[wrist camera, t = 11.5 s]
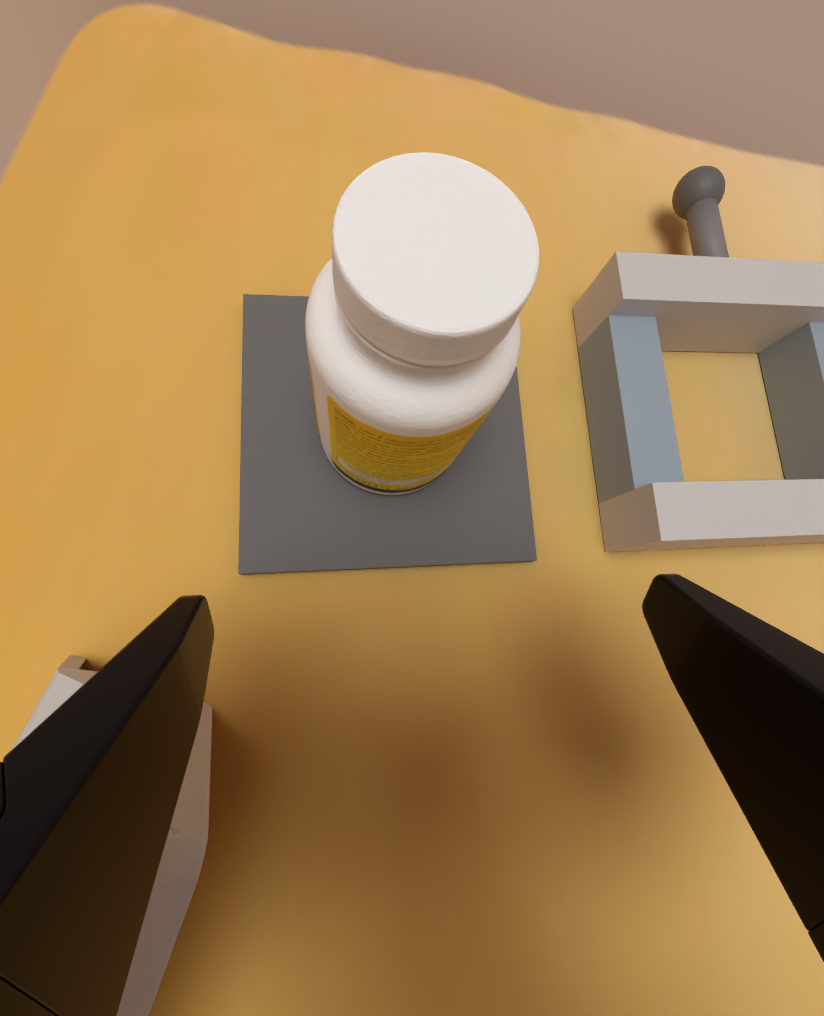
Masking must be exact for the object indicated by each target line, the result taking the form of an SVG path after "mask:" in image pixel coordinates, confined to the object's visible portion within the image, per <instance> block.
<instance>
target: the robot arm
mask: <svg viewBox="0 0 824 1016" xmlns="http://www.w3.org/2000/svg"><path fill="white" fill-rule="evenodd" d="M642 610H643V614H644V617H645V619H646V621H647V624H648V626H649V628H650V631H651V633H652V636H653V638H654V640H655V643H656V645H657V647H658V650H659V652H660V655H661V657H662V659H663V662H664V664H665V666H666V669H667V671H668V673H669V675H670V678H671V680H672V682H673V684H674V686H675V688H676V690H677V691H678V693H679V695H680V697H681V699H682V701H683V703H684V704H685V706H686V708H687V710H688V712H689V714H690V715H691V717H692V719H693V721H694V723H695V725H696V727H697V728H698V730H699V732H700V734H701V736H702V738H703V739H704V741H705V743H706V745H707V747H708V749H709V751H710V752H711V754H712V756H713V758H714V760H715V762H716V763H717V765H718V767H719V769H720V771H721V773H722V775H723V776H724V778H725V780H726V782H727V784H728V786H729V787H730V789H731V791H732V793H733V795H734V797H735V799H736V800H737V802H738V804H739V806H740V808H741V810H742V811H743V813H744V815H745V817H746V819H747V821H748V823H749V824H750V826H751V828H752V830H753V832H754V834H755V835H756V837H757V839H758V841H759V843H760V845H761V847H762V848H763V850H764V852H765V854H766V856H767V858H768V859H769V861H770V863H771V865H772V867H773V869H774V871H775V872H776V874H777V876H778V878H779V880H780V882H781V883H782V885H783V887H784V889H785V891H786V893H787V895H788V896H789V898H790V900H791V902H792V904H793V906H794V907H795V909H796V911H797V913H798V915H799V917H800V919H801V920H802V922H803V924H804V926H805V928H806V929H807V930H809V931H808V934H809V936H810V938H811V939H812V941H813V943H814V945H815V947H816V949H817V951H818V952H819V954H820V956H821V958H822V960H823V962H824V654H823V653H821V652H820V651H818V650H816V649H814V648H812V647H810V646H809V645H807V644H805V643H803V642H801V641H799V640H798V639H796V638H794V637H792V636H790V635H788V634H787V633H785V632H783V631H781V630H779V629H777V628H776V627H774V626H772V625H770V624H768V623H766V622H765V621H763V620H761V619H759V618H757V617H755V616H754V615H752V614H750V613H748V612H746V611H744V610H743V609H741V608H739V607H737V606H735V605H733V604H732V603H730V602H728V601H726V600H724V599H722V598H721V597H719V596H717V595H715V594H713V593H711V592H710V591H708V590H706V589H704V588H702V587H700V586H699V585H697V584H695V583H693V582H691V581H689V580H688V579H686V578H684V577H682V576H680V575H678V574H659V575H657V576H656V577H654V579H653V580H652V583H651V585H650V587H649V589H648V592H647V594H646V596H645V598H644V601H643V605H642ZM213 640H214V626H213V622H212V618H211V614H210V610H209V606H208V602H207V599H206V598H205V597H204V596H202V595H192V596H182V597H180V598H178V599H177V600H176V601H175V602H174V603H172V604H171V605H170V606H169V607H168V608H167V609H166V610H165V611H164V612H163V613H161V614H160V615H159V616H158V617H157V618H156V619H155V620H154V621H153V622H152V623H151V624H149V625H148V626H147V627H146V628H145V629H144V630H143V631H142V632H141V633H140V634H138V635H137V636H136V637H135V638H134V639H133V640H132V641H131V642H130V643H129V644H127V645H126V646H125V647H124V648H123V649H122V650H121V651H120V652H119V653H118V654H117V655H115V656H114V657H113V658H112V659H111V660H110V661H109V662H108V663H107V664H106V665H104V666H103V667H102V668H101V669H100V670H99V671H98V672H97V673H96V674H95V675H93V676H92V677H91V678H90V679H89V680H88V681H87V682H86V683H85V684H84V685H82V686H81V687H80V688H79V689H78V690H77V691H76V692H75V693H74V694H73V695H72V696H70V697H69V698H68V699H67V700H66V701H65V702H64V703H63V704H62V705H61V706H59V707H58V708H57V709H56V710H55V711H54V712H53V713H52V714H51V715H50V716H48V717H47V718H46V719H45V720H44V721H43V722H42V723H41V724H40V725H39V726H38V727H36V728H35V729H34V730H33V731H32V732H31V733H30V734H29V735H28V736H27V737H25V738H24V739H23V740H22V741H21V742H20V743H19V744H18V745H17V746H16V747H14V748H13V749H12V750H11V751H10V752H9V753H8V754H7V755H6V756H5V757H4V758H3V762H0V1016H117V1013H118V1009H119V1006H120V1002H121V999H122V995H123V992H124V988H125V984H126V981H127V977H128V974H129V970H130V967H131V963H132V960H133V956H134V953H135V949H136V946H137V942H138V939H139V935H140V931H141V928H142V924H143V921H144V917H145V914H146V910H147V907H148V903H149V900H150V896H151V893H152V889H153V886H154V882H155V878H156V875H157V871H158V868H159V864H160V861H161V857H162V854H163V850H164V847H165V843H166V840H167V836H168V833H169V829H170V825H171V822H172V818H173V815H174V811H175V808H176V804H177V801H178V797H179V794H180V790H181V787H182V783H183V779H184V776H185V772H186V769H187V765H188V762H189V758H190V755H191V751H192V748H193V744H194V741H195V737H196V734H197V730H198V726H199V722H200V718H201V713H202V708H203V702H204V696H205V690H206V683H207V677H208V671H209V665H210V658H211V652H212V646H213Z"/></svg>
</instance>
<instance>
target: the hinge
mask: <svg viewBox="0 0 824 1016" xmlns="http://www.w3.org/2000/svg"><path fill="white" fill-rule="evenodd" d="M85 660H86V658H81V657H76V656H69V657H68V658H67V659H66V660H65V661H64V663H63V664H62V665H61V666H60V667H59V668H58V669H57V671H56V672H55V674H54V676H53V678H52V679H51V681H50V683H49V685H48V686H47V688H46V690H45V692H44V694H43V695H42V697H41V699H40V701H39V702H38V704H37V706H36V708H35V709H34V711H33V713H32V715H31V716H30V718H29V720H28V722H27V723H26V725H25V727H24V729H23V731H22V732H21V734H20V736H19V738H18V739H17V741H16V743H15V745H14V746H13V748H14V747H16V746H17V745H18V744H19V743H20V742H21V741H22V740H23V739H24V738H25V737H27V736H28V735H29V734H30V733H31V732H32V731H33V730H34V729H35V728H36V727H38V726H39V725H40V724H41V723H42V722H43V721H44V720H45V719H46V718H47V717H48V716H50V715H51V714H52V713H53V712H54V711H55V710H56V709H57V708H58V707H59V706H61V705H62V704H63V703H64V702H65V701H66V700H67V699H68V698H69V697H70V696H72V695H73V694H74V693H75V692H76V691H77V690H78V689H79V688H80V687H81V686H82V685H84V684H85V683H86V682H87V681H88V680H89V679H90V678H91V677H92V676H93V675H95V674H96V673H97V672H98V671H89V670H80V669H81V667H82V666H83V664H84V662H85ZM211 736H212V707H211V706H210V705H208V704H207V703H206V702H203V708H202V713H201V718H200V722H199V726H198V730H197V734H196V737H195V741H194V744H193V748H192V751H191V755H190V758H189V762H188V765H187V769H186V772H185V776H184V779H183V783H182V787H181V790H180V794H179V797H178V801H177V804H176V808H175V811H174V815H173V818H172V822H171V825H170V829H169V833H168V836H167V840H166V843H165V847H164V850H163V854H162V857H161V861H160V864H159V868H158V871H157V875H156V878H155V882H154V886H153V889H152V893H151V896H150V900H149V903H148V907H147V910H146V914H145V917H144V921H143V924H142V928H141V931H140V935H139V939H138V942H137V946H136V949H135V953H134V956H133V960H132V963H131V967H130V970H129V974H128V977H127V981H126V984H125V988H124V992H123V995H122V999H121V1002H120V1006H119V1009H118V1013H117V1016H149V1014H150V1011H151V1009H152V1006H153V1003H154V1000H155V998H156V995H157V992H158V990H159V987H160V984H161V981H162V979H163V976H164V973H165V970H166V968H167V965H168V962H169V959H170V957H171V954H172V951H173V948H174V946H175V943H176V940H177V937H178V934H179V932H180V929H181V926H182V923H183V921H184V918H185V915H186V912H187V909H188V907H189V904H190V901H191V898H192V896H193V893H194V890H195V887H196V884H197V882H198V878H199V874H200V871H201V867H202V864H203V860H204V856H205V851H206V846H207V841H208V826H209V796H210V766H211ZM13 748H12V749H13Z"/></svg>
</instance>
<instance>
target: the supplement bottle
mask: <svg viewBox="0 0 824 1016" xmlns="http://www.w3.org/2000/svg"><path fill="white" fill-rule="evenodd" d="M538 267H539V247H538V241H537V236H536V233H535V229H534V226H533V224H532V221H531V219H530V217H529V215H528V213H527V211H526V209H525V208H524V206H523V205H522V203H521V202H520V200H519V199H518V198H517V197H516V195H515V194H514V193H513V192H512V191H511V190H510V189H509V188H508V187H507V186H506V185H505V184H504V183H503V182H501V181H500V180H499V179H498V178H496V177H495V176H494V175H492V174H491V173H490V172H488V171H486V170H484V169H482V168H481V167H479V166H477V165H475V164H473V163H471V162H469V161H466V160H463V159H460V158H457V157H454V156H450V155H444V154H438V153H409V154H402V155H398V156H394V157H391V158H388V159H385V160H383V161H380V162H378V163H376V164H374V165H372V166H371V167H369V168H368V169H366V170H365V171H364V172H362V173H361V174H360V175H359V176H358V177H356V178H355V179H354V180H353V182H352V183H351V184H350V185H349V187H348V188H347V189H346V191H345V192H344V194H343V195H342V197H341V199H340V201H339V204H338V206H337V209H336V212H335V216H334V220H333V226H332V258H331V259H330V260H329V261H328V262H327V264H326V265H325V266H324V268H323V269H322V271H321V272H320V274H319V275H318V277H317V279H316V281H315V283H314V285H313V287H312V290H311V293H310V296H309V299H308V304H307V309H306V318H305V331H306V344H307V352H308V360H309V366H310V372H311V379H312V386H313V394H314V401H315V408H316V416H317V423H318V429H319V435H320V439H321V442H322V446H323V449H324V451H325V453H326V455H327V457H328V459H329V461H330V462H331V464H332V465H333V466H334V468H335V469H336V470H337V471H338V472H339V473H340V474H341V475H342V476H343V477H344V478H345V479H347V480H348V481H349V482H351V483H352V484H354V485H356V486H357V487H359V488H362V489H364V490H367V491H369V492H373V493H377V494H384V495H400V494H406V493H411V492H414V491H417V490H419V489H421V488H424V487H425V486H427V485H429V484H430V483H432V482H433V481H435V480H436V479H437V478H438V477H440V476H441V475H442V474H443V473H444V472H445V471H446V470H447V469H448V468H449V466H450V465H451V464H452V462H453V461H454V460H455V458H456V457H457V456H458V454H459V453H460V452H461V450H462V449H463V447H464V446H465V445H466V443H467V442H468V441H469V439H470V438H471V437H472V435H473V434H474V433H475V431H476V430H477V429H478V427H479V426H480V425H481V423H482V422H483V421H484V419H485V418H486V416H487V415H488V414H489V412H490V411H491V410H492V408H493V407H494V406H495V404H496V403H497V401H498V400H499V399H500V397H501V396H502V394H503V393H504V391H505V389H506V387H507V386H508V384H509V382H510V380H511V378H512V376H513V373H514V371H515V368H516V365H517V362H518V357H519V351H520V340H521V332H520V323H519V317H518V315H519V313H520V311H521V309H522V308H523V306H524V304H525V302H526V301H527V299H528V297H529V296H530V294H531V292H532V289H533V287H534V284H535V281H536V278H537V274H538Z"/></svg>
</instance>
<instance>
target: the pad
mask: <svg viewBox="0 0 824 1016" xmlns="http://www.w3.org/2000/svg"><path fill="white" fill-rule="evenodd" d="M308 299H309V297H303V296H276V295H248V294H243V348H242V406H241V464H240V521H239V574H241V575H244V574H266V573H288V572H310V571H332V570H355V569H377V568H399V567H421V566H443V565H465V564H487V563H509V562H531V561H536V560H537V557H536V548H535V538H534V529H533V519H532V510H531V500H530V491H529V481H528V472H527V462H526V453H525V443H524V434H523V424H522V415H521V405H520V396H519V386H518V377H517V367H516V368H515V371H514V373H513V376H512V378H511V380H510V382H509V384H508V386H507V387H506V389H505V391H504V393H503V394H502V396H501V397H500V399H499V400H498V401H497V403H496V404H495V406H494V407H493V408H492V410H491V411H490V412H489V414H488V415H487V416H486V418H485V419H484V421H483V422H482V423H481V425H480V426H479V427H478V429H477V430H476V431H475V433H474V434H473V435H472V437H471V438H470V439H469V441H468V442H467V443H466V445H465V446H464V447H463V449H462V450H461V452H460V453H459V454H458V456H457V457H456V458H455V460H454V461H453V462H452V464H451V465H450V466H449V468H448V469H447V470H446V471H445V472H444V473H443V474H442V475H441V476H440V477H438V478H437V479H436V480H435V481H433V482H432V483H430V484H429V485H427V486H425V487H424V488H421V489H419V490H417V491H414V492H411V493H406V494H400V495H384V494H377V493H373V492H369V491H367V490H364V489H362V488H359V487H357V486H356V485H354V484H352V483H351V482H349V481H348V480H347V479H345V478H344V477H343V476H342V475H341V474H340V473H339V472H338V471H337V470H336V469H335V468H334V466H333V465H332V464H331V462H330V461H329V459H328V457H327V455H326V453H325V451H324V449H323V446H322V442H321V439H320V435H319V429H318V423H317V416H316V408H315V401H314V394H313V386H312V379H311V372H310V366H309V360H308V352H307V344H306V331H305V318H306V309H307V304H308Z"/></svg>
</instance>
